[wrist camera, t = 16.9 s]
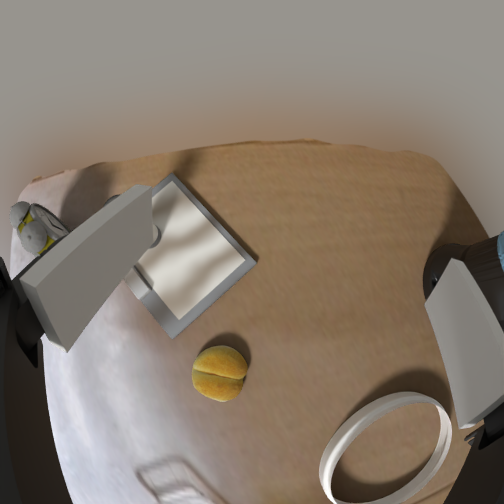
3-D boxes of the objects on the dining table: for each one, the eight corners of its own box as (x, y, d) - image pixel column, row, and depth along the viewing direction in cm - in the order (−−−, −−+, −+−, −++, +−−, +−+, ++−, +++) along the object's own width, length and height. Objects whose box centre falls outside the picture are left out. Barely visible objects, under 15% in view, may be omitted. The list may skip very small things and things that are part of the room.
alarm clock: (91, 252, 45) (40, 230, 30) (71, 280, 44) (18, 267, 29) (62, 216, 46) (16, 189, 31) (44, 242, 45) (-4, 221, 30)
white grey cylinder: (166, 236, 44) (136, 209, 31) (148, 254, 43) (112, 233, 31) (152, 219, 45) (120, 188, 32) (134, 236, 44) (97, 210, 31)
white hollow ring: (374, 369, 41) (388, 376, 36) (458, 411, 38) (473, 416, 33) (289, 486, 36) (293, 502, 31) (388, 508, 33) (397, 520, 28)
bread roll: (252, 352, 42) (252, 356, 38) (237, 402, 40) (236, 410, 36) (201, 337, 42) (197, 339, 38) (188, 387, 40) (182, 394, 36)
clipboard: (256, 264, 44) (256, 261, 42) (173, 338, 42) (169, 340, 39) (173, 174, 48) (170, 168, 45) (100, 241, 45) (94, 237, 43)
